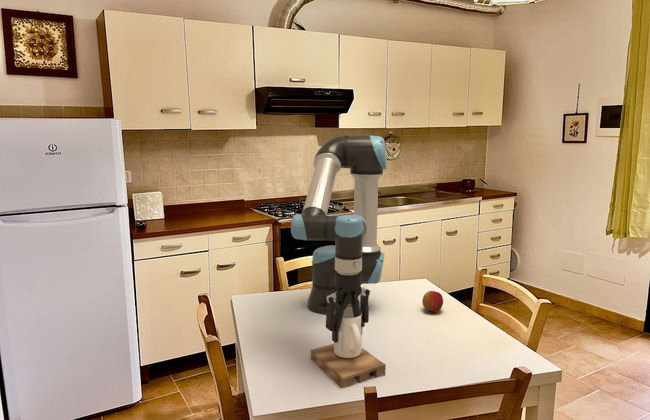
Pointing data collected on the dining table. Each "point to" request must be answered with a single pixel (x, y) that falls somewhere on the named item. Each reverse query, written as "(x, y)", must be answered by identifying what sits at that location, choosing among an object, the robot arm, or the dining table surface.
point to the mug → (350, 335)
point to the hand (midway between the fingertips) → (347, 349)
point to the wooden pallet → (347, 365)
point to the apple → (432, 301)
